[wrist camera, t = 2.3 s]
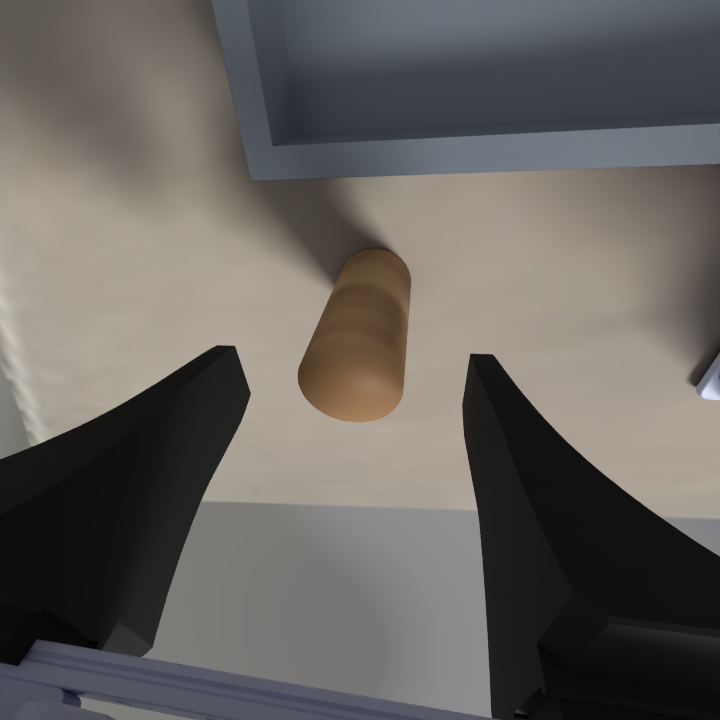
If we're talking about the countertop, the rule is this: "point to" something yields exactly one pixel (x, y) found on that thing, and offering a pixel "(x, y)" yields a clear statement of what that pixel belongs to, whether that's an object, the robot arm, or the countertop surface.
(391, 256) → the peg
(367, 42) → the open top box
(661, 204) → the countertop surface
